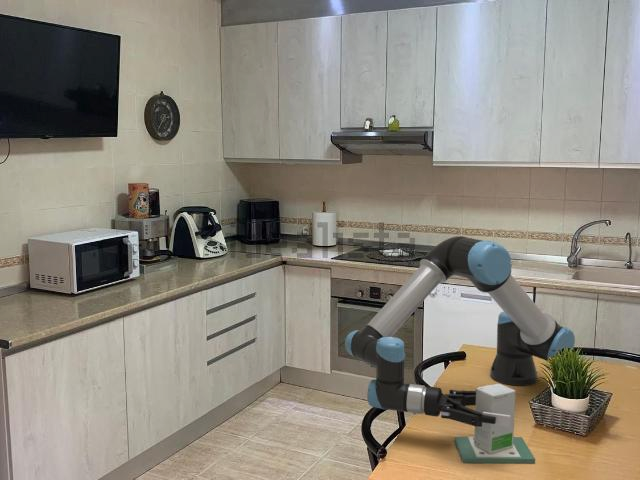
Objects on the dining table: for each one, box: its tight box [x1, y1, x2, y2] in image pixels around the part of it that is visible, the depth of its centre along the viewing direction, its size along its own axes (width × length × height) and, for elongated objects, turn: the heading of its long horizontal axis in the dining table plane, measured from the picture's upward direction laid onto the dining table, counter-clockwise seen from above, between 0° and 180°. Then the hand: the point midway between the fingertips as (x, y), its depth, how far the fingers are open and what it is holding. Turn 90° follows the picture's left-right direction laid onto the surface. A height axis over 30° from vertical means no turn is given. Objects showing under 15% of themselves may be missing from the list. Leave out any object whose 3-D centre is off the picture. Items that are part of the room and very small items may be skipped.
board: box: [453, 435, 536, 464], centre depth 169 cm, size 18×12×2 cm, turn 89°
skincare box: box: [473, 383, 516, 454], centre depth 168 cm, size 8×7×16 cm
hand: (511, 412), depth 166 cm, fingers open, 10 cm apart
